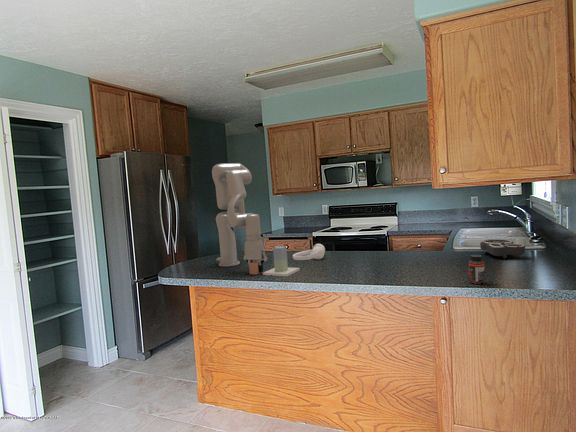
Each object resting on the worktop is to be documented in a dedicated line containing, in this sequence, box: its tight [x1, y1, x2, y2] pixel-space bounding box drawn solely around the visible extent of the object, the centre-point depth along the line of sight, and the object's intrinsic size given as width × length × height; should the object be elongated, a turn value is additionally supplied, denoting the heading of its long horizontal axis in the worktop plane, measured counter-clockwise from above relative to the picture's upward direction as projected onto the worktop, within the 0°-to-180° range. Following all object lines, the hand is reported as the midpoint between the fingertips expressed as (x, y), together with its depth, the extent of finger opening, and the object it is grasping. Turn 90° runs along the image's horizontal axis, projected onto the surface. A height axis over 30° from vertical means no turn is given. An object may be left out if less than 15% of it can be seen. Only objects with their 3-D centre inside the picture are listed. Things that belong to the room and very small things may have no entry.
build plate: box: [262, 257, 301, 277], centre depth 210 cm, size 14×14×7 cm
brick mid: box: [272, 246, 288, 261], centre depth 209 cm, size 5×5×6 cm
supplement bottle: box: [468, 254, 486, 285], centre depth 165 cm, size 6×6×11 cm
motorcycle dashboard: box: [479, 238, 526, 260], centre depth 214 cm, size 26×16×7 cm, turn 174°
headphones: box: [292, 243, 326, 261], centre depth 245 cm, size 19×8×20 cm
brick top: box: [248, 260, 264, 275], centre depth 213 cm, size 5×5×6 cm
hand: (256, 271), depth 213 cm, fingers closed on brick top, 5 cm apart
